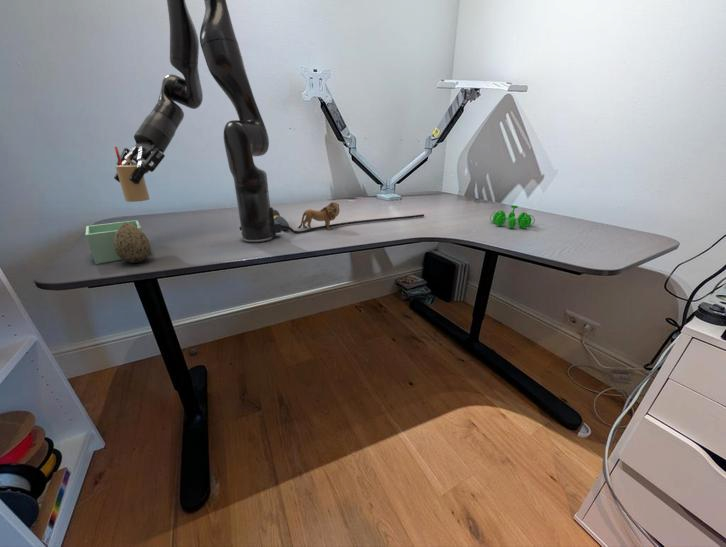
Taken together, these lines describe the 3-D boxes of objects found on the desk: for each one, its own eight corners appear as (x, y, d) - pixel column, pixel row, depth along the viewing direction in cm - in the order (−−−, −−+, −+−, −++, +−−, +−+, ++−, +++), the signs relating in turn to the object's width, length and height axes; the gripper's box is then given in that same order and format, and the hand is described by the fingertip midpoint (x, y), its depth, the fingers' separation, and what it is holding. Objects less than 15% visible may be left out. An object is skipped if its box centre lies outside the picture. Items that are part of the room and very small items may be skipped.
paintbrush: (298, 230, 107) (297, 215, 105) (284, 232, 104) (283, 217, 102) (274, 219, 121) (273, 206, 119) (262, 221, 118) (260, 208, 116)
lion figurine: (338, 225, 113) (338, 200, 110) (341, 229, 108) (340, 203, 105) (297, 227, 110) (295, 202, 107) (298, 231, 105) (296, 204, 102)
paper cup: (154, 199, 88) (140, 146, 83) (134, 202, 83) (118, 146, 78) (141, 197, 90) (126, 146, 85) (120, 200, 85) (104, 146, 80)
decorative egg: (116, 269, 74) (103, 228, 70) (123, 259, 80) (111, 221, 76) (152, 264, 77) (141, 225, 73) (155, 255, 83) (145, 218, 79)
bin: (144, 245, 91) (137, 220, 88) (148, 254, 83) (141, 227, 80) (95, 253, 84) (86, 226, 81) (95, 264, 77) (85, 234, 74)
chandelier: (488, 227, 112) (491, 208, 109) (490, 218, 125) (493, 201, 122) (535, 232, 107) (539, 211, 104) (531, 222, 120) (535, 204, 117)
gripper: (127, 122, 88) (94, 170, 82) (163, 122, 83) (130, 173, 77) (150, 143, 94) (121, 188, 89) (184, 143, 89) (156, 191, 84)
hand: (125, 181), depth 83 cm, fingers closed on paper cup, 5 cm apart
